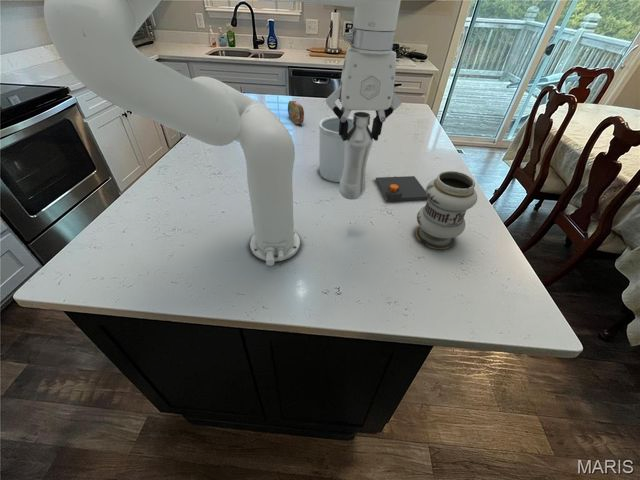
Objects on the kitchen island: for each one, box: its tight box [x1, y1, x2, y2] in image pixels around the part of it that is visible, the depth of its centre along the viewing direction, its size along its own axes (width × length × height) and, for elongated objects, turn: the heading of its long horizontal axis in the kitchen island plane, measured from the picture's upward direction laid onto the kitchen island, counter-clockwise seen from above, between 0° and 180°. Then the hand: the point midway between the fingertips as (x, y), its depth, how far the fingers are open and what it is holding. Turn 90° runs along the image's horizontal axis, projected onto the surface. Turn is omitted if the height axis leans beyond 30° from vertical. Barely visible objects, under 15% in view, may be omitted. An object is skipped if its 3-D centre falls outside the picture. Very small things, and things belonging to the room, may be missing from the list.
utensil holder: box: [318, 115, 353, 183], centre depth 99 cm, size 15×15×18 cm
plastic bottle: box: [338, 111, 374, 201], centre depth 68 cm, size 6×7×20 cm
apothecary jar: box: [415, 170, 478, 250], centre depth 74 cm, size 12×12×18 cm
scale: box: [374, 175, 428, 203], centre depth 97 cm, size 13×14×3 cm
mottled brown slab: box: [287, 100, 305, 126], centre depth 138 cm, size 15×3×8 cm, turn 25°
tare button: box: [389, 184, 398, 192], centre depth 92 cm, size 3×3×2 cm
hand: (358, 137), depth 65 cm, fingers closed on plastic bottle, 6 cm apart
